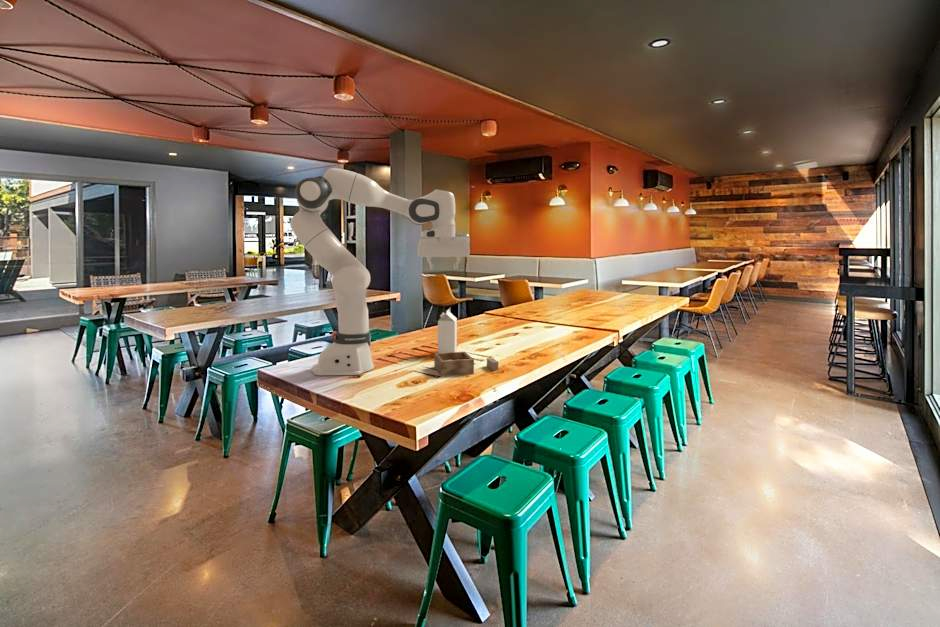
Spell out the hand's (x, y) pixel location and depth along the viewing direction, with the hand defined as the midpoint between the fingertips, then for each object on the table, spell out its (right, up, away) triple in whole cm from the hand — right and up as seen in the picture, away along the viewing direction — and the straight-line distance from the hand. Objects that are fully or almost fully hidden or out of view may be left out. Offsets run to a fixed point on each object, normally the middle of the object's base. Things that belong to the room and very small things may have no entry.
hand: (443, 268), depth 191 cm
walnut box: (+4, -39, -9) cm, 40 cm away
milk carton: (+1, -35, +17) cm, 39 cm away
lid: (+19, -40, -6) cm, 44 cm away
